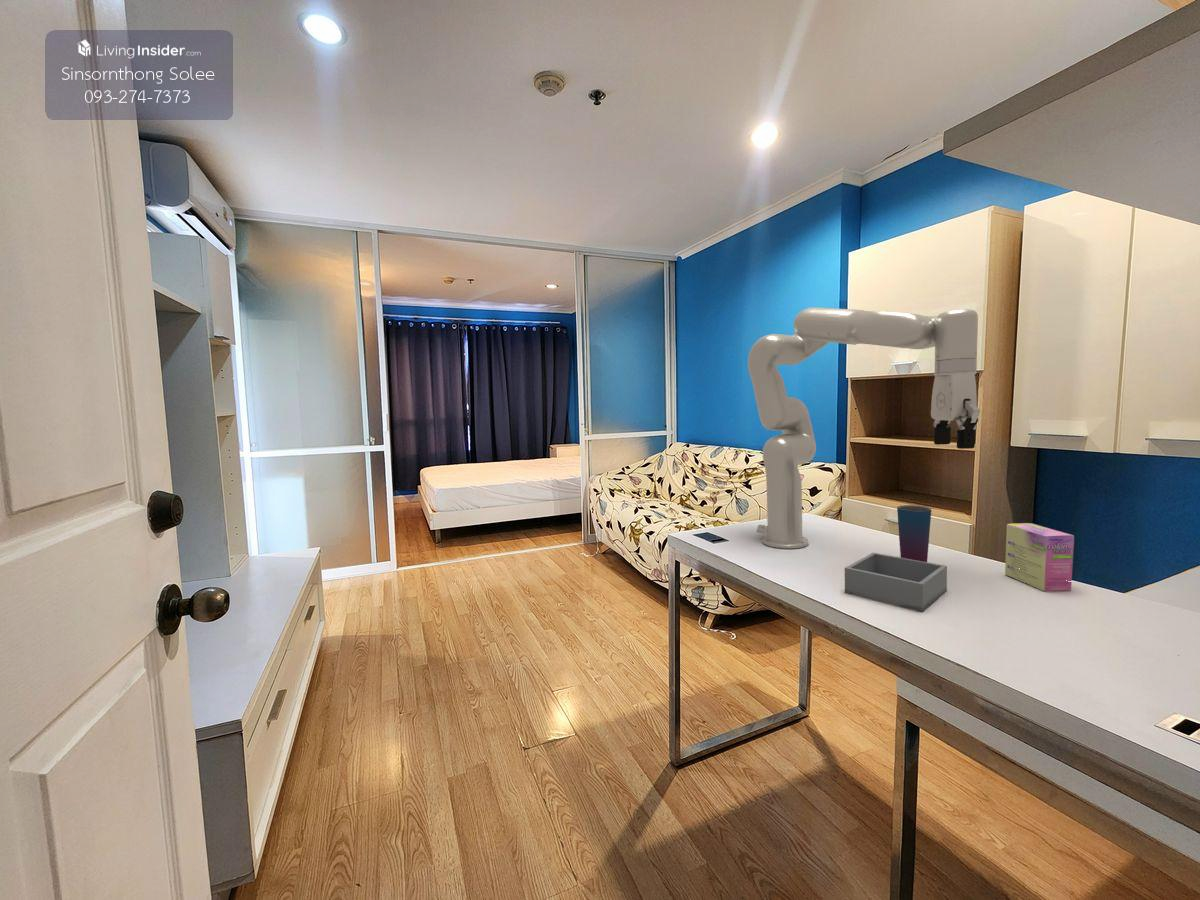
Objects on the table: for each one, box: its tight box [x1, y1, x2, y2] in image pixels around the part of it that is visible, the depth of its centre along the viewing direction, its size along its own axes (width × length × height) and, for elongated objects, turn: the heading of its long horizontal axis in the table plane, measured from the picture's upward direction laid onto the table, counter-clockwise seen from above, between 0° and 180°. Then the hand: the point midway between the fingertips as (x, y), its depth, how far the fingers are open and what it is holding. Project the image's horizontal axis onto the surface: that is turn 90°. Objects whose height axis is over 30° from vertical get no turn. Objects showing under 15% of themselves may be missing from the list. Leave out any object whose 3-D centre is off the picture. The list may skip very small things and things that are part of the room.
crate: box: [844, 552, 948, 613], centre depth 106 cm, size 15×15×6 cm
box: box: [1004, 522, 1075, 592], centre depth 107 cm, size 10×6×12 cm, turn 179°
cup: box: [896, 504, 932, 562], centre depth 118 cm, size 7×7×15 cm
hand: (953, 446), depth 111 cm, fingers open, 9 cm apart
